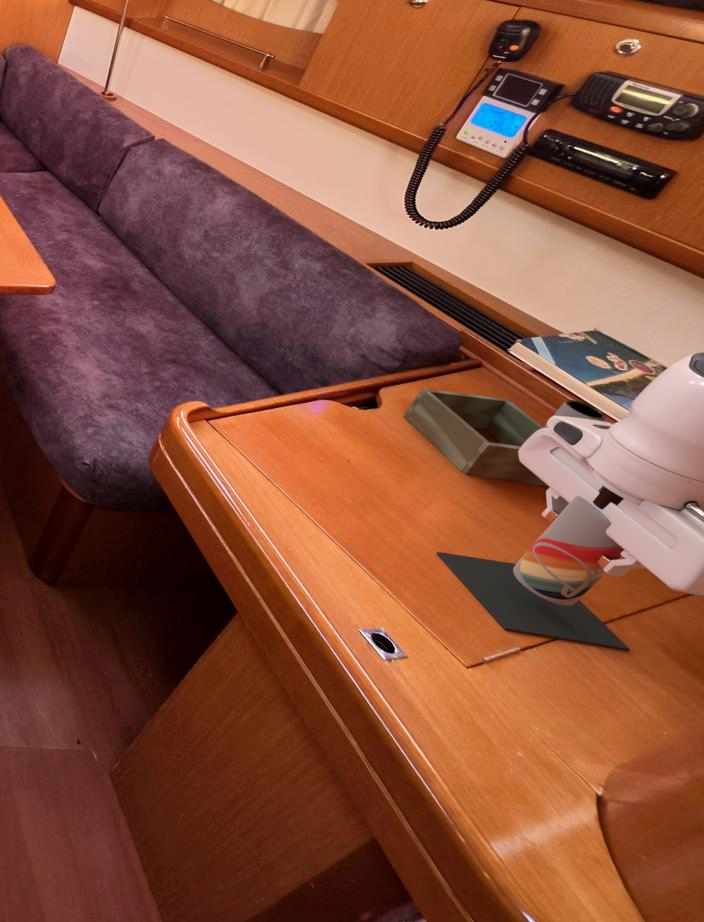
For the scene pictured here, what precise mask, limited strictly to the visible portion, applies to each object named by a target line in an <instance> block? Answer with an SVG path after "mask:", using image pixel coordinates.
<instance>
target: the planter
mask: <svg viewBox="0 0 704 922" xmlns="http://www.w3.org/2000/svg"><path fill="white" fill-rule="evenodd" d="M552 416H567V417H577V418H585V419H591V420H597V421H603V422H605V420H606V419H607V415H606V413H604V412H603V411H601V410H600V409H598V408H596V407H595V406H592V405H590V404H588V403H585V402H582V401H579V400H574V399H567V400H565V401H564V402H563V403H562V404H561V406H559V408H558V409H557V410H556V412H555V413H554V414H553V415H552ZM543 427H544V428H548V427H547V423H545V425H544V426H543Z"/></svg>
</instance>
